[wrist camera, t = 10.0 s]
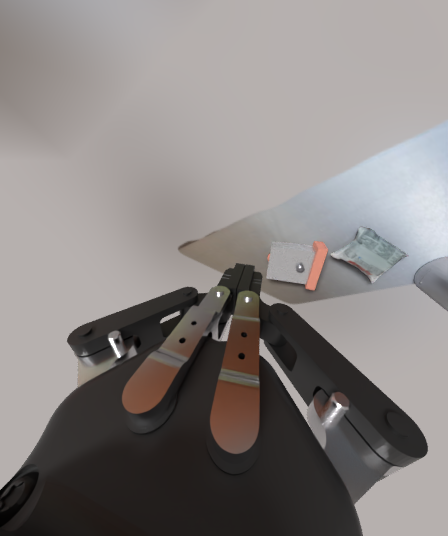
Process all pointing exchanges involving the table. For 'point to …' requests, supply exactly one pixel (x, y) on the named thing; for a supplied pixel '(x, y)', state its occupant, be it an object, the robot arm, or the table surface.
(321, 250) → the salmon angled bracket
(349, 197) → the table surface
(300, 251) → the metal block with knob
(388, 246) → the packaged food
